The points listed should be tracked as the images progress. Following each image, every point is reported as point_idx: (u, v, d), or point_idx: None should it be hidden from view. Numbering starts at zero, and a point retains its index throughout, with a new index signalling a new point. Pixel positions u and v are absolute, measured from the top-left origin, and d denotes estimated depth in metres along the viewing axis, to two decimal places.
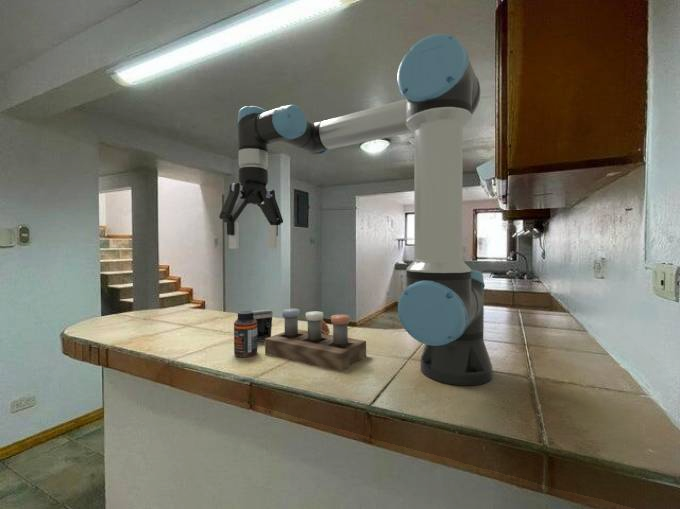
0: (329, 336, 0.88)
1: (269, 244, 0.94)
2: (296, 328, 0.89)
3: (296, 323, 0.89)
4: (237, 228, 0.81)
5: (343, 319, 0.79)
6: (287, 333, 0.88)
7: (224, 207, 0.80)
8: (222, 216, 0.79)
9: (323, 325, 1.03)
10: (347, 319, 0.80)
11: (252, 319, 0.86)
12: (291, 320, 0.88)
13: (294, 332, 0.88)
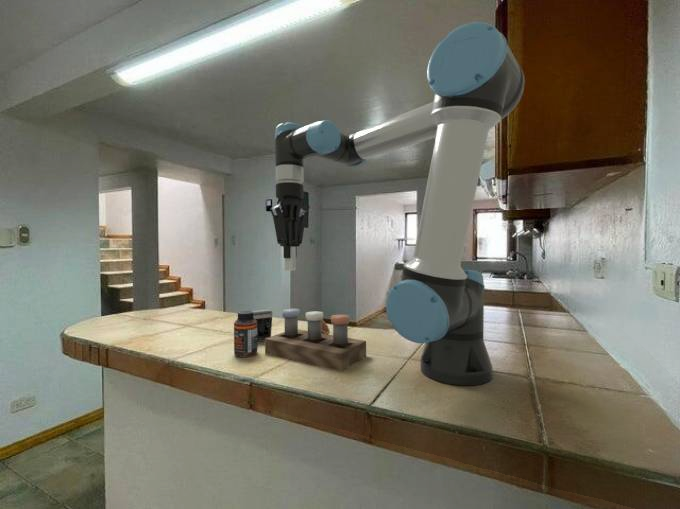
0: (329, 336, 0.88)
1: None
2: (296, 328, 0.89)
3: (296, 323, 0.89)
4: (293, 252, 0.88)
5: (343, 319, 0.79)
6: (287, 333, 0.88)
7: (277, 234, 0.86)
8: (280, 241, 0.86)
9: (323, 325, 1.03)
10: (347, 319, 0.80)
11: (252, 319, 0.86)
12: (291, 320, 0.88)
13: (294, 332, 0.88)
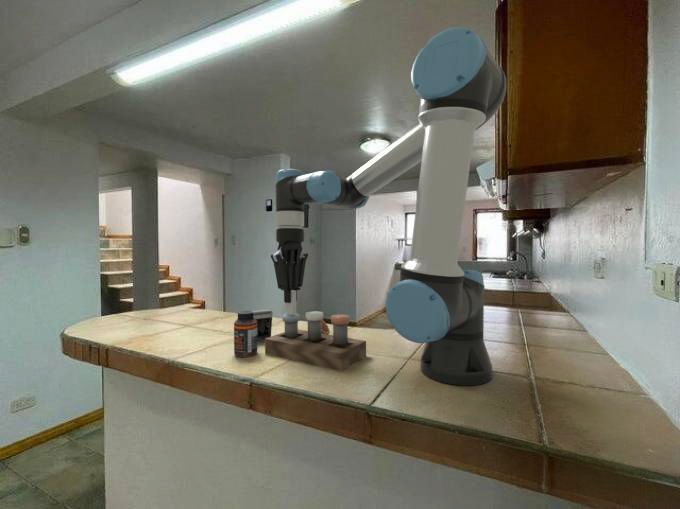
0: (329, 336, 0.88)
1: None
2: (296, 333, 0.89)
3: (296, 328, 0.89)
4: (293, 296, 0.89)
5: (343, 319, 0.79)
6: None
7: (278, 279, 0.86)
8: (281, 287, 0.86)
9: (323, 325, 1.03)
10: (347, 319, 0.80)
11: (252, 319, 0.86)
12: (291, 325, 0.88)
13: (294, 337, 0.88)
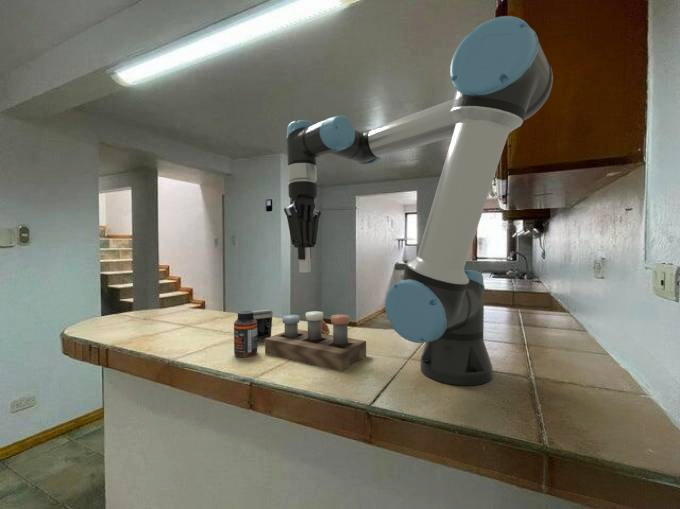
0: (329, 336, 0.88)
1: None
2: (296, 334, 0.89)
3: (296, 329, 0.89)
4: (307, 253, 0.86)
5: (343, 319, 0.79)
6: None
7: (292, 234, 0.83)
8: (295, 242, 0.83)
9: (323, 325, 1.03)
10: (347, 319, 0.80)
11: (252, 319, 0.86)
12: (291, 326, 0.88)
13: None
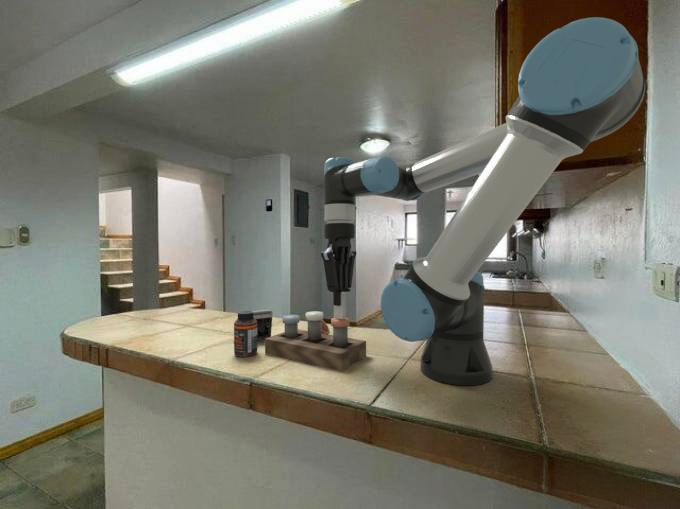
0: (329, 336, 0.88)
1: None
2: (296, 334, 0.89)
3: (296, 329, 0.89)
4: (343, 298, 0.80)
5: (343, 322, 0.79)
6: None
7: (328, 280, 0.78)
8: (331, 288, 0.78)
9: (323, 325, 1.03)
10: (347, 322, 0.80)
11: (252, 319, 0.86)
12: (291, 326, 0.88)
13: None
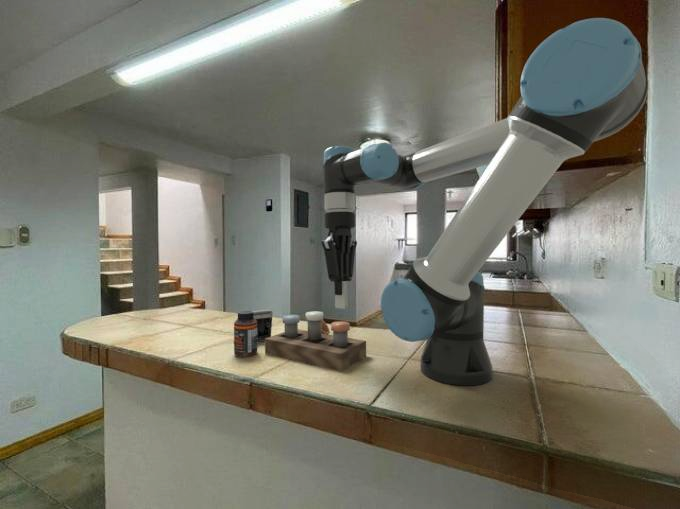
0: (329, 336, 0.88)
1: None
2: (296, 334, 0.89)
3: (296, 329, 0.89)
4: (345, 288, 0.80)
5: (343, 326, 0.79)
6: None
7: (329, 268, 0.77)
8: (332, 277, 0.78)
9: (323, 325, 1.03)
10: (347, 326, 0.80)
11: (252, 319, 0.86)
12: (291, 326, 0.88)
13: None
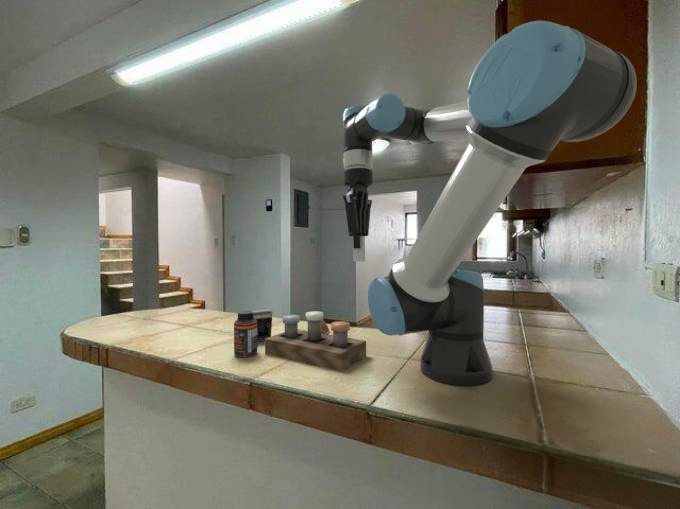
0: (329, 336, 0.88)
1: None
2: (296, 334, 0.89)
3: (296, 329, 0.89)
4: (363, 242, 0.84)
5: (343, 326, 0.79)
6: None
7: (349, 222, 0.81)
8: (352, 230, 0.81)
9: (323, 325, 1.03)
10: (347, 326, 0.80)
11: (252, 319, 0.86)
12: (291, 326, 0.88)
13: None
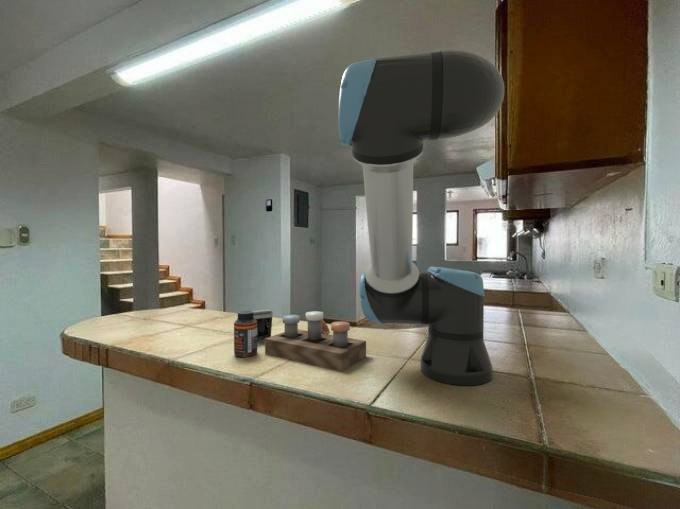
0: (329, 336, 0.88)
1: None
2: (296, 334, 0.89)
3: (296, 329, 0.89)
4: None
5: (343, 326, 0.79)
6: None
7: None
8: None
9: (323, 325, 1.03)
10: (347, 326, 0.80)
11: (252, 319, 0.86)
12: (291, 326, 0.88)
13: None
